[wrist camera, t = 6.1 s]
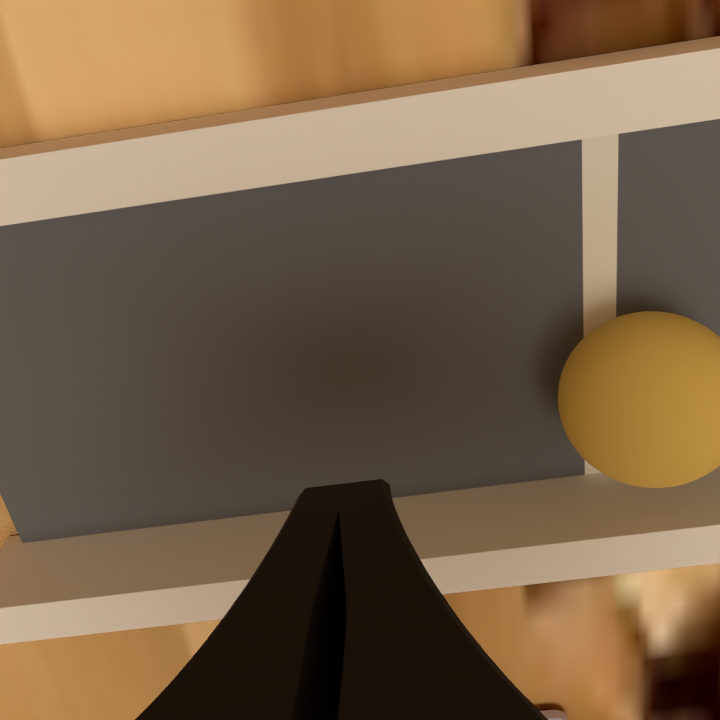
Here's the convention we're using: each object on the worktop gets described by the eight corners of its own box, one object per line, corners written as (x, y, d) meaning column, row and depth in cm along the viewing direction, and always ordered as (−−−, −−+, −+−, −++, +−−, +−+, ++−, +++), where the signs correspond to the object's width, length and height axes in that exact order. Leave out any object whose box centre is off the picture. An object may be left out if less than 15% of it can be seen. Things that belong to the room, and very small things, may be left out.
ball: (630, 510, 18) (552, 505, 15) (584, 366, 19) (507, 338, 16) (801, 464, 15) (749, 448, 12) (733, 305, 17) (673, 258, 14)
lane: (926, 460, 19) (1020, 529, 17) (22, 567, 21) (-28, 647, 18) (1040, -14, 14) (1200, -27, 12) (-156, 172, 16) (-262, 199, 13)
